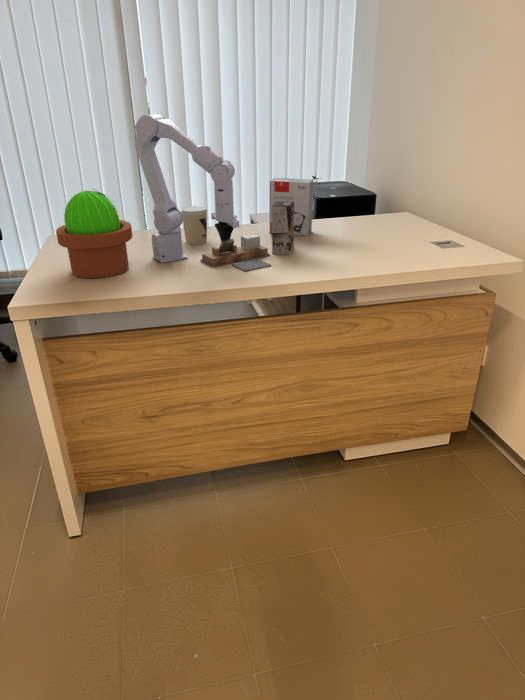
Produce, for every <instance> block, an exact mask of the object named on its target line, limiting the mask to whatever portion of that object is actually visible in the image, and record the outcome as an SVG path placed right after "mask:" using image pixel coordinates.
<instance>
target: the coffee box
mask: <svg viewBox="0 0 525 700" xmlns="http://www.w3.org/2000/svg"><path fill="white" fill-rule="evenodd" d="M271 234H272V235H271V236H272V237H271V254H273V255H274V254H275V255H287V256H289V255H291V253H292V251H293V249H294V246H295V245H294V240H295V238H294V237H295V235H294V202H290V201H283V202H276V203H275V204H274V205H273V206H272V233H271Z"/></svg>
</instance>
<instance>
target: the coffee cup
mask: <svg viewBox="0 0 525 700" xmlns="http://www.w3.org/2000/svg"><path fill="white" fill-rule="evenodd" d="M180 212H181V213H182V216H183V222H182V227H183V230H184V231H183V232H184V238H185V243H186V244H187V245H202V244H205V243H208V242H207V240H208V209H207V207H204V206H195V205H194V206H186V207H183V208H182V209H181V210H180Z"/></svg>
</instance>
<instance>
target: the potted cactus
mask: <svg viewBox="0 0 525 700" xmlns="http://www.w3.org/2000/svg"><path fill="white" fill-rule="evenodd" d="M113 202H114V200H111V199H109V196H107V195H106V194H105V193H103V192H101V191H99V190H96V189H94V188H92V190H80V192H78V193H75V194H74V195H73V196H72V197H71V198H70V199H69V201H67V203H66V205H65V208H64V207H63V210H64V213H62V215H64V216H63V217H64V218H63V221H64V224H63V225H61V226H59V227H58V228H56V230H55V234H56V239H57V243H58V245H59V246H60V247H63V248H66V249H67V252H68V253H67V254H68V258H69V264H70V268H71V273H72V275H74V276H76V277H78V278H82V279H101V278H102V279H103V278H108V277H114V276H115V277H116V276H118V275H121V274H123V273H125V272H127V271H128V269H129V266H130V265H129V257H128V256H129V255H128V249H127V242H129V241H131V240H132V239H133V230H132V224H131V223H130V222H129V221H127V220H123V219H120V217H119V213H118V210H117V209H116V207H115V205H114V204H113Z"/></svg>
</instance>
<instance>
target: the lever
mask: <svg viewBox="0 0 525 700" xmlns="http://www.w3.org/2000/svg"><path fill="white" fill-rule="evenodd" d="M220 242H221V241H220ZM233 244H234V245H235V240H234V238H230V239H229V240H223V241H222V242H221V243H220V245H219V246H218V247H219V248H218V249H219V253H225V252H230V251H232V246H233Z"/></svg>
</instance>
